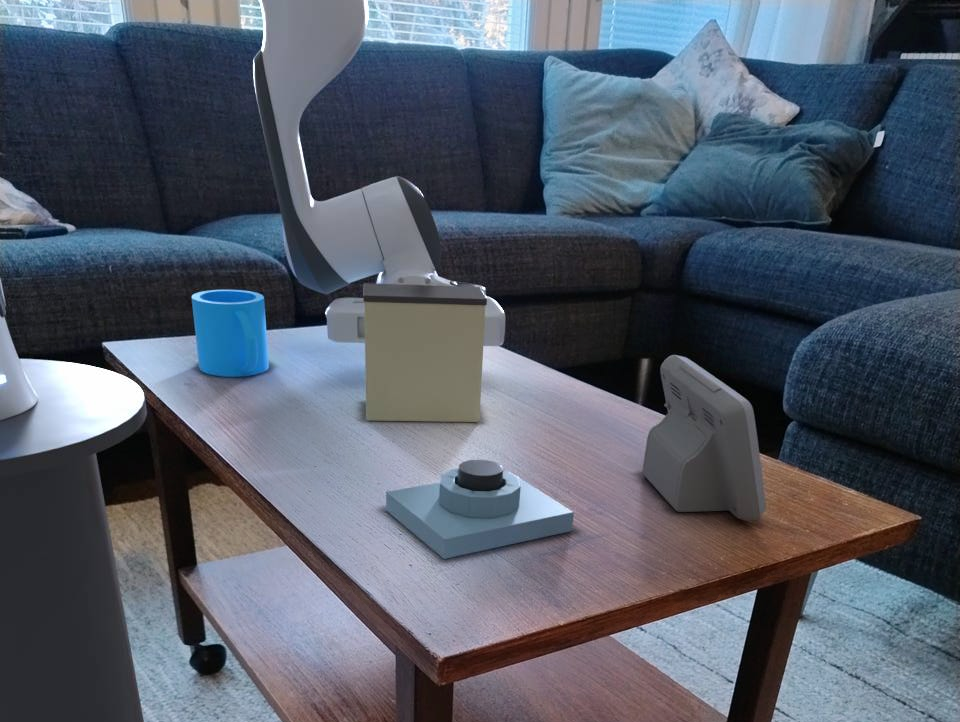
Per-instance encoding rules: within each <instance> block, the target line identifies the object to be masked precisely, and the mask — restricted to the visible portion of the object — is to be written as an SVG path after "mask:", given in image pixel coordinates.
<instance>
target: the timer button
mask: <svg viewBox="0 0 960 722" xmlns="http://www.w3.org/2000/svg"><path fill="white" fill-rule="evenodd" d="M457 468H458V486H459V487H461V488H464V489H468V490H472V491H493V490H499V489H501V488H502V480H503V471H504V468H503V466H502V465H501V464H500V463H497V462H495V461H492V460H487V459H469V460H465V461H463V462H461V463H459V465H458V467H457Z"/></svg>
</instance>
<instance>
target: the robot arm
mask: <svg viewBox="0 0 960 722" xmlns="http://www.w3.org/2000/svg"><path fill="white" fill-rule="evenodd" d="M258 1H259V4H260V8H261V13H262V21H263V36H262V37H263V38H262V46H261V48H260V49H259V50H258V52H257V53H256V55H255V56H254V57H253V61H252V62H253V64H252V74H253V75H252V76H253V86H254V91H255V99H256V102H257V107H258V108H257V109H258V112H259V117H260V123H261V128H262V132H263V136H264V141H265V146H266V151H267V155H268V159H269V165H270V169H271V173H272V178H273V182H274V183H273V184H274V187H275V192H276V197H277V202H278V205H279V206H278V207H279V210H280V215H281V220H282V232H283V233H282V234H283V235H282V236H283V237H282V238H283V246H284V252H285V256H286V260H287V263H288V265H289V268H290V270H291V272H292V274H293V275H294V277H295V278H296V279H297V283H299V284H301V285H302V286H304V287H305V288H308V289H309V290H312V291H315V292H318V293H321V294H324V295H329V294H331V293H334V292H336V291H337V290H341V289H342V288H344V287H347V286H349V285H351V283H355V282H356V281H360V280H363V279H366V278H368V277H372V276H375V275H377V279H376V282H375V284H404V285H435V286H465V287H480V288H481V290H482V292H483V294H484V295H485V297H486V299H487V305H485V324H484V343H483V347H499V346H502V345H503V344H504V342H505V335H506V314H505V311H504V310H503V308H502V307H501V305H500V304H499V303H498V302H497V301H496V300H495V299H494V298H492V297H490V296H487V292H486V287H484V286H482V285H480V284H474V283H468V282H461V281H456V280H450V279H447V278H444V277H441V276H439V275H438V273H437V271H436V270H437V269H438V267H439V264H440V262H441V258H442V254H443V250H442V244H441V239H440V235H439V232H438V228H437V224H436V222H435V219H434V217H433V214H432V212H431V209H430V207H429V204H428V202H427V200H426V199H425V196H424V195H423V193H422V191H421V189H419V187H417V186H416V185H415V184H413V183H412V182H411V181H409V180H408V179H407V178H404V177H402V176H398V175H396V176H392V177H390V178H385V179H383V180H380V181H377V182H374V183H371V184H368V185H364V186H363V187H360V188H359V189H356V190H353V191H349V192H347V193H344V194H341V195H338V196H335V197H332V198H329V199H326V200H320V201H318V200H316V199H314V198H313V197H312V193H311V188H310V184H309V178H308V174H307V169H306V168H307V167H306V163H305V158H304V153H303V148H302V144H301V137H300V122H301V119H302V117H303V113H304V112H305V110H306V108H307V107H308V105H309V104H310V102H311V101H312V100H313V99H314V98H315V97H316V96H317V95H318V93H320V91H322V90H323V89H324V88H325V87H326V86H327V85H328V84H329V83H330V82H332V81H333V80H334V79H335V78H336V77H337V76H338V75H339V74H340V73H341V72H342V71H343V70H344V69H345V68H346V66H348V64H349V63H350V62H351V60H352V59H353V58H354V57H355V56H356V53H357V52H358V51H359V49H360V47H361V45H362V43H363V41H364V38H365V36H366V32H367V30H368V24H369V15H370V13H369V4H368V0H258ZM1 279H2V278H0V421H1V420H4V419H7V418H10V417H13V416H15V415H18V414H21V413H23V412H25V411H27V410H28V409H30V408H31V407H33V406H34V405H35V404H36V403H37V400H38V397H37V395H36V393H35V391H34V390H33V388H32V386H31V384H30V382H29V380H28V378H27V376H26V374H25V372H24V370H23V367H22V365H21V363H20V360H19V359H20V358H19V356H18V355H19V354H18V353H17V350H16V348H15V345H14V342H13V340H12V335H11V334H10V330H9V327H8V323H7V320H6V317H5V316H6V314H7V311H6V307H7V305H6V299H5V294H4V288H3V283H2V280H1ZM324 316H325V318H326V331H327V339H328V340H329V341H332V342H334V343H342V344H343V343H344V344H347V343H348V344H365V312H364V300H363V297H340V298H339V297H338V298H336V299H334V300H333V301H331V302H330V304H329V305H328V307H326V309H325V312H324Z"/></svg>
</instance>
